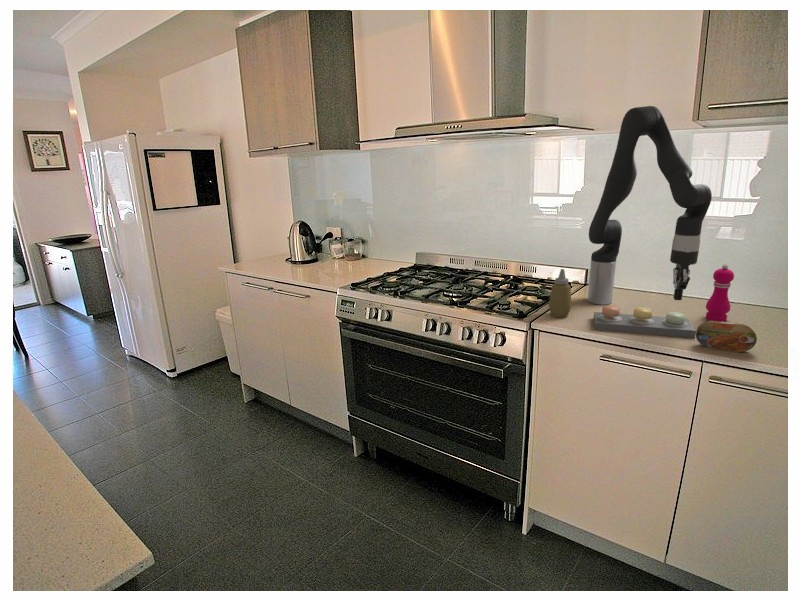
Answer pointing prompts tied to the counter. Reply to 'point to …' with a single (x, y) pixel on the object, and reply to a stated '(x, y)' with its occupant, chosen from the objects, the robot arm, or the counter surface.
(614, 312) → the terracotta button
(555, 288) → the squeeze bottle
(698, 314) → the counter surface
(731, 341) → the tin
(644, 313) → the ochre button
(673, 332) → the button panel
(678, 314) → the sage button
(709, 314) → the pepper mill
